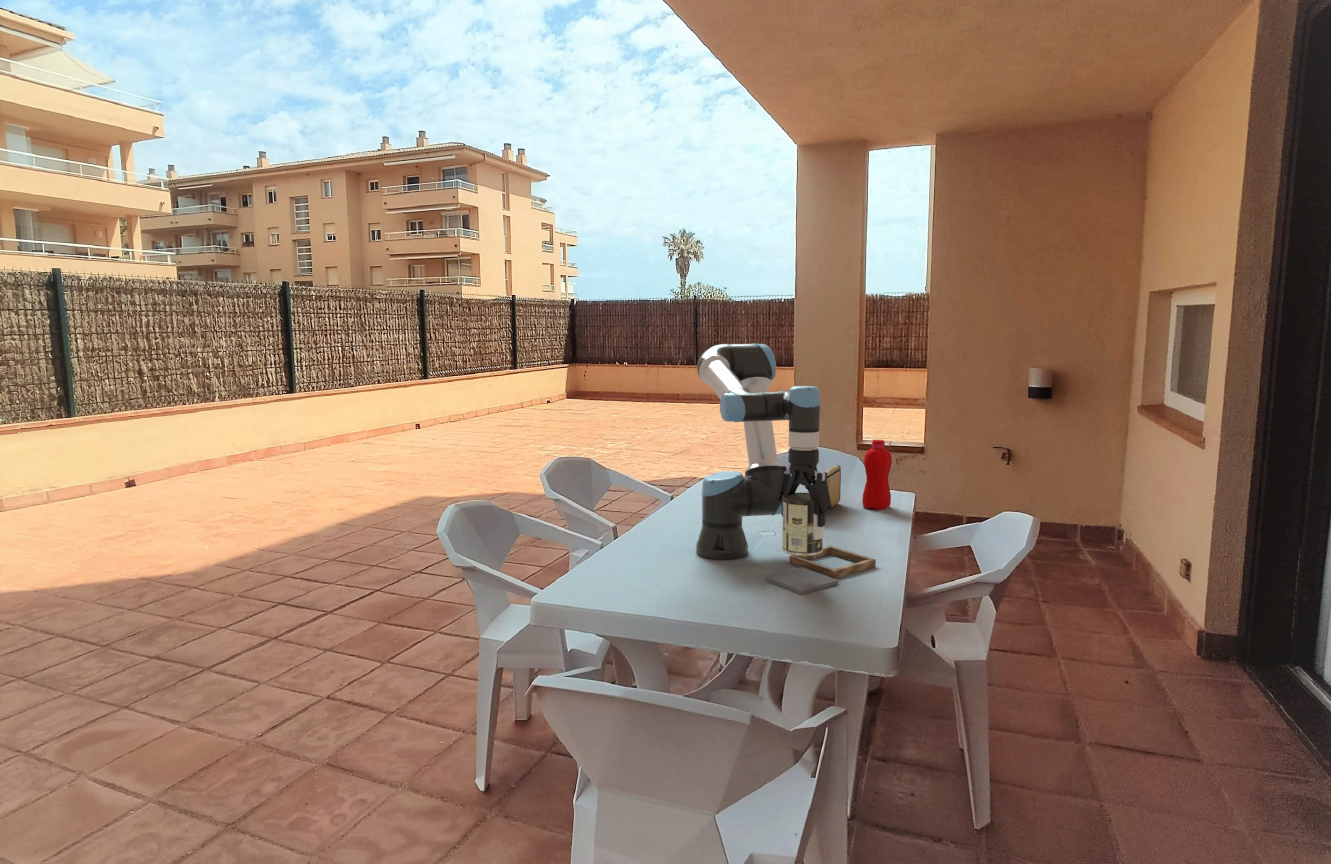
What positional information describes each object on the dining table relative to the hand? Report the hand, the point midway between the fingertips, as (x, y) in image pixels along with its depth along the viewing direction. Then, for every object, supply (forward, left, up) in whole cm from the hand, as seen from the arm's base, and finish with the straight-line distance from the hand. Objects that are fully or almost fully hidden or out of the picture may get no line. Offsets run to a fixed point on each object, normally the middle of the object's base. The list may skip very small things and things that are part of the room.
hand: (802, 534), depth 183 cm
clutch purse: (+60, +50, -13) cm, 79 cm away
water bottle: (+81, +41, -13) cm, 92 cm away
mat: (0, 0, -13) cm, 13 cm away
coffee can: (0, 0, -4) cm, 4 cm away
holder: (+17, +5, -13) cm, 22 cm away
